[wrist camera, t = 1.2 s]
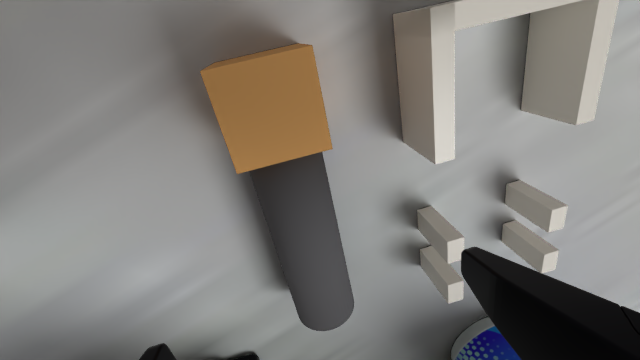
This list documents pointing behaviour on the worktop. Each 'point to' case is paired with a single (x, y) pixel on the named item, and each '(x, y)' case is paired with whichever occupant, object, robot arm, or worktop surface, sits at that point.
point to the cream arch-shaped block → (540, 69)
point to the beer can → (482, 343)
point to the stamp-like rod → (287, 170)
